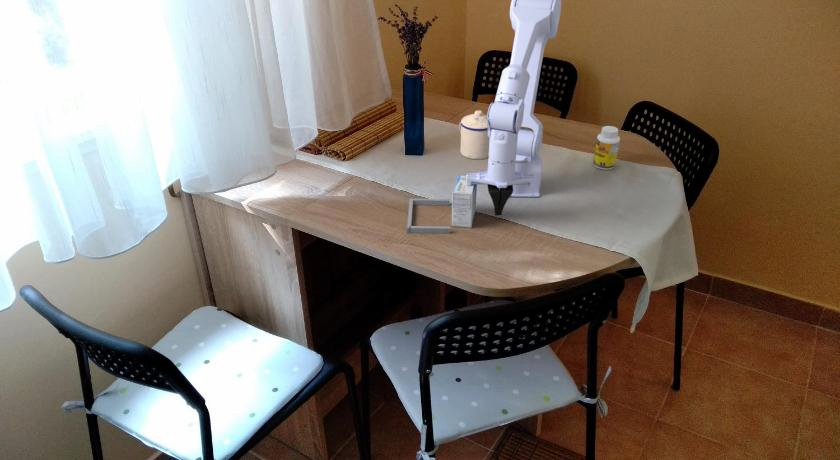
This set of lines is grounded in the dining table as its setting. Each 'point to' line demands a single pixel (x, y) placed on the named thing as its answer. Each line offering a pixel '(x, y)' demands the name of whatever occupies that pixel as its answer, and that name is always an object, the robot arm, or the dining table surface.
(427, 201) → the grey bay
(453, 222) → the medicine box
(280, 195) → the dining table surface
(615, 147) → the supplement bottle
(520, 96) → the robot arm
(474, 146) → the teacup with lid
